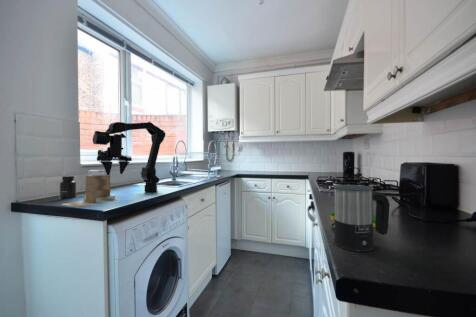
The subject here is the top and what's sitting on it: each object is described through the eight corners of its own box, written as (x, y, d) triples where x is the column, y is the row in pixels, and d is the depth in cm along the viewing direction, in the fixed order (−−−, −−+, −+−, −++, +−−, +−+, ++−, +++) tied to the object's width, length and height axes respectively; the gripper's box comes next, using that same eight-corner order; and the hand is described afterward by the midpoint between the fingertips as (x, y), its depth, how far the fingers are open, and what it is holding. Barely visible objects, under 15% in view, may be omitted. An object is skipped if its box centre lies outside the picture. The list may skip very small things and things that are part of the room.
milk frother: (355, 255, 50) (356, 190, 50) (307, 233, 65) (308, 182, 64) (395, 245, 56) (395, 186, 56) (343, 227, 70) (343, 180, 70)
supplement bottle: (59, 201, 109) (59, 177, 109) (59, 199, 114) (59, 176, 114) (76, 199, 114) (76, 176, 114) (75, 197, 119) (75, 175, 119)
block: (102, 198, 111) (102, 174, 110) (110, 199, 108) (110, 175, 108) (85, 201, 103) (85, 176, 103) (93, 202, 101) (93, 176, 101)
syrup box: (105, 194, 129) (104, 169, 129) (97, 196, 123) (97, 170, 123) (95, 194, 130) (95, 169, 130) (88, 195, 124) (87, 170, 124)
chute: (102, 199, 115) (102, 193, 115) (121, 201, 109) (121, 195, 109) (60, 206, 98) (60, 199, 98) (80, 209, 92) (80, 202, 92)
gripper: (116, 146, 130) (115, 173, 130) (88, 144, 112) (87, 174, 112) (132, 146, 128) (131, 173, 128) (106, 144, 110) (105, 175, 109)
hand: (114, 174), depth 119 cm, fingers open, 9 cm apart
